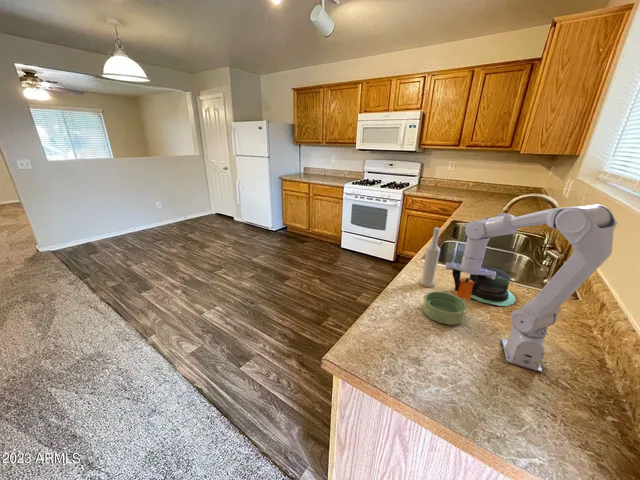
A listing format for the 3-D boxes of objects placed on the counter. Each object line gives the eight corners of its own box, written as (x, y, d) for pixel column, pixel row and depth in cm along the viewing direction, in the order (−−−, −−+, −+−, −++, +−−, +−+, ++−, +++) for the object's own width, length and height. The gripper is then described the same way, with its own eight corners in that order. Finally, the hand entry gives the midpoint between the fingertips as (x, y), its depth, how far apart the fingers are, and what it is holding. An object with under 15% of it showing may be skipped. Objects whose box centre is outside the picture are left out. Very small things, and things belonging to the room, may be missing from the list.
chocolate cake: (507, 281, 113) (528, 309, 95) (461, 293, 120) (472, 321, 103) (496, 251, 110) (516, 275, 92) (450, 265, 117) (459, 290, 99)
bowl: (463, 330, 85) (467, 318, 83) (420, 318, 90) (422, 306, 88) (463, 308, 96) (466, 297, 94) (424, 299, 101) (426, 288, 99)
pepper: (471, 300, 89) (475, 283, 86) (456, 296, 91) (460, 279, 88) (470, 293, 92) (475, 276, 90) (456, 290, 94) (460, 273, 92)
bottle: (420, 286, 110) (430, 229, 101) (420, 280, 115) (429, 225, 106) (433, 288, 109) (445, 231, 100) (432, 282, 113) (443, 227, 104)
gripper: (498, 255, 86) (487, 291, 91) (449, 247, 92) (442, 281, 97) (500, 264, 80) (489, 302, 85) (448, 254, 86) (441, 290, 91)
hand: (464, 291), depth 91 cm, fingers closed on pepper, 4 cm apart
